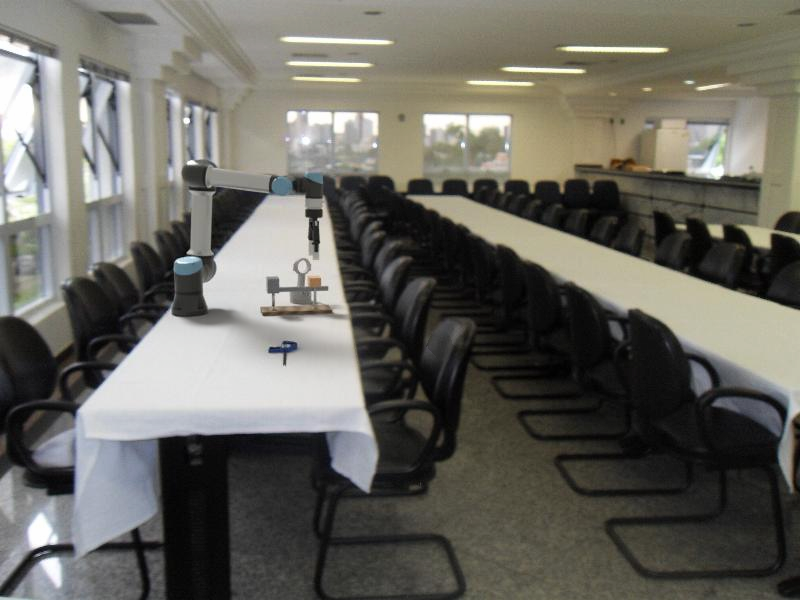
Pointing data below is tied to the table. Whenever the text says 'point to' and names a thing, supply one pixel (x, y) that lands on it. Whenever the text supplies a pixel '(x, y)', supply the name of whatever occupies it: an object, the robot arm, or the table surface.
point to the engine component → (301, 284)
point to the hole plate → (295, 310)
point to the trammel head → (314, 284)
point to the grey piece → (286, 288)
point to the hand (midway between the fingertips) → (313, 257)
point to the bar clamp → (284, 349)
